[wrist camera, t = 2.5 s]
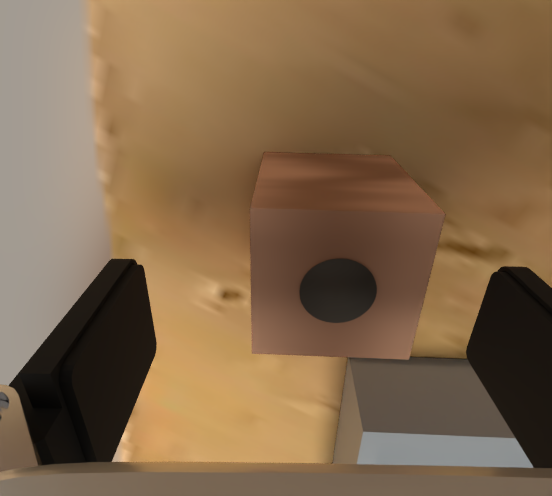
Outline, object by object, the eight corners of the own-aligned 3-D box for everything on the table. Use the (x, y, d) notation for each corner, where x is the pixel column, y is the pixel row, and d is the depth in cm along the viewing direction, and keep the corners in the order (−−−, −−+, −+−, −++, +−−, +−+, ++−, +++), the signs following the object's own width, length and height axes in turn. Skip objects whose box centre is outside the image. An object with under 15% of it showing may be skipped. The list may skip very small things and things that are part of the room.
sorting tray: (658, 366, 19) (753, 448, 15) (546, 529, 27) (591, 613, 23) (348, 354, 20) (363, 431, 16) (324, 518, 27) (329, 599, 23)
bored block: (389, 155, 15) (445, 214, 9) (372, 264, 17) (409, 360, 12) (264, 151, 15) (249, 208, 10) (263, 260, 17) (251, 354, 12)
